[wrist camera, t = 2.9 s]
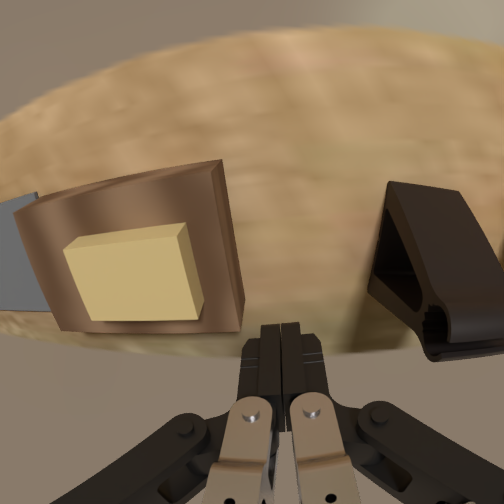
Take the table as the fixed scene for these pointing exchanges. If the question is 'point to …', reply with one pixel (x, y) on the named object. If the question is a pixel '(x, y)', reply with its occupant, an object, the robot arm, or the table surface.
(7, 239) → the mat
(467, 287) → the phone stand
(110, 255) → the yellow block
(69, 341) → the table surface
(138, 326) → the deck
